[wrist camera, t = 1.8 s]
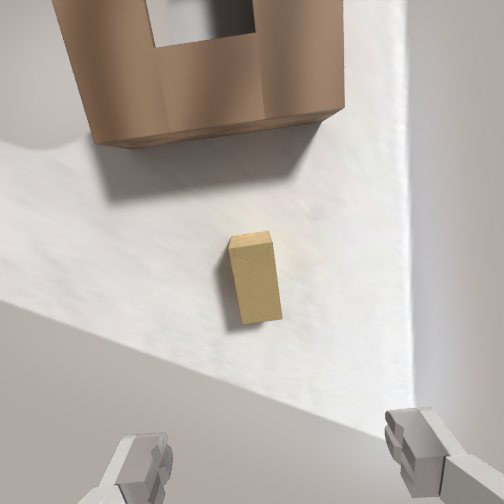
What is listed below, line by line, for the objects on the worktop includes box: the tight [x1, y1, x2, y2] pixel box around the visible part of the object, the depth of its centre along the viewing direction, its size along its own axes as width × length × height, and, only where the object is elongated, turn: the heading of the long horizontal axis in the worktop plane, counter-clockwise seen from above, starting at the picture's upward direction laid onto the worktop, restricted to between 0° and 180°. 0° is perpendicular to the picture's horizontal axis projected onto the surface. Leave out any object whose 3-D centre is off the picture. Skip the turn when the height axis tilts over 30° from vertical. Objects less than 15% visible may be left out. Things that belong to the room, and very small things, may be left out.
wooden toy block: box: [228, 231, 282, 325], centre depth 23 cm, size 4×7×4 cm, turn 9°
